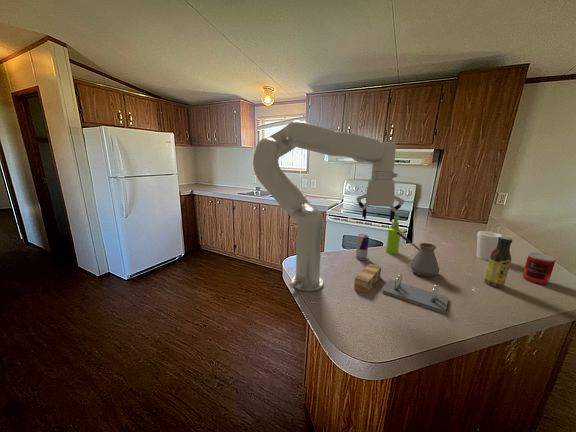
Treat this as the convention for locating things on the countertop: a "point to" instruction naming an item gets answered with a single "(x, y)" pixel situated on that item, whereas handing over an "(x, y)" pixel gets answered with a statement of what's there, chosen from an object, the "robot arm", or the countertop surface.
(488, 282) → the sauce bottle
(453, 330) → the countertop surface
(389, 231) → the soap dispenser
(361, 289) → the shelf board
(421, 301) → the peg stand
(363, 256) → the energy drink
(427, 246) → the coffee pot
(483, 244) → the foam cup
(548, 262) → the canned food
